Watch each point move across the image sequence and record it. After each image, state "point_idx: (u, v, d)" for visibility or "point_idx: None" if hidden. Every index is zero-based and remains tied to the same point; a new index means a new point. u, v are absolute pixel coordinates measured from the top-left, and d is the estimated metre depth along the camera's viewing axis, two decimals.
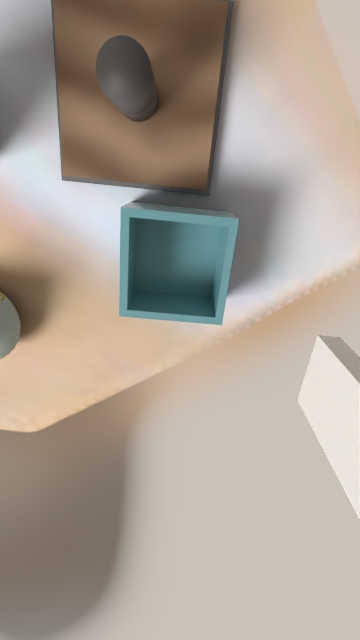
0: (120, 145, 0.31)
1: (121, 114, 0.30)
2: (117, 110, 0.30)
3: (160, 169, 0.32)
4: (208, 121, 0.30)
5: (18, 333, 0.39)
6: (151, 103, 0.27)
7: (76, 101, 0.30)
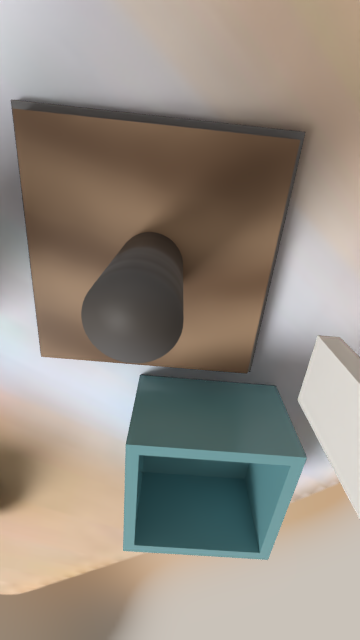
0: None
1: None
2: None
3: (183, 350, 0.22)
4: (256, 294, 0.20)
5: None
6: None
7: (57, 270, 0.20)
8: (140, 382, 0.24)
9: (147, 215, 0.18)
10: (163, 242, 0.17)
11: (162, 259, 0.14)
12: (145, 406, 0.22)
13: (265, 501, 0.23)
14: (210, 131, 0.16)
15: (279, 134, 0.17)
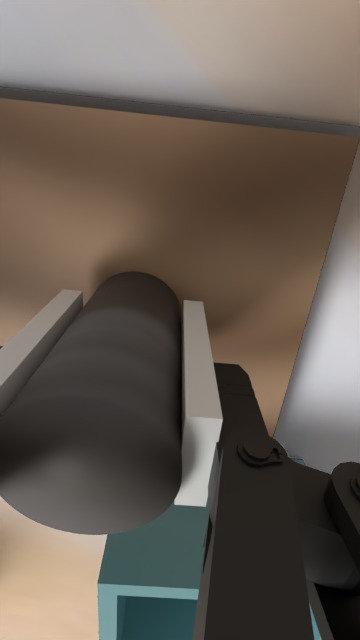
0: None
1: None
2: None
3: None
4: (285, 354, 0.14)
5: None
6: None
7: (3, 322, 0.14)
8: None
9: (129, 248, 0.12)
10: (151, 292, 0.11)
11: (146, 336, 0.08)
12: None
13: None
14: (223, 124, 0.11)
15: (323, 130, 0.12)
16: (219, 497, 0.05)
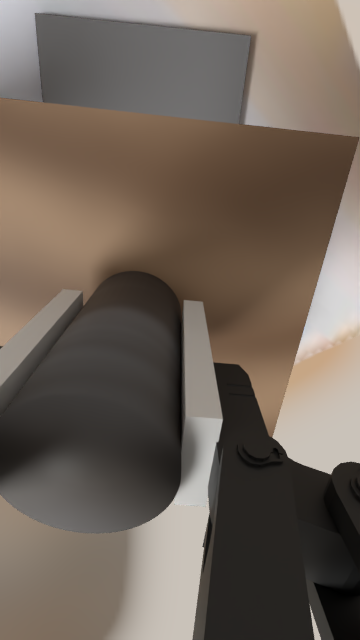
0: None
1: None
2: None
3: None
4: (284, 354, 0.14)
5: None
6: None
7: (3, 322, 0.14)
8: None
9: (128, 247, 0.12)
10: (151, 291, 0.11)
11: (145, 335, 0.08)
12: None
13: None
14: (222, 124, 0.11)
15: (231, 37, 0.23)
16: (219, 497, 0.05)
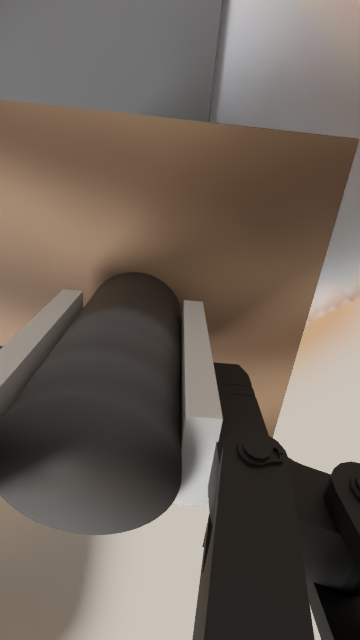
0: None
1: None
2: None
3: None
4: (284, 355, 0.14)
5: None
6: None
7: (4, 323, 0.14)
8: None
9: (129, 248, 0.12)
10: (151, 292, 0.11)
11: (146, 337, 0.08)
12: None
13: None
14: (222, 126, 0.11)
15: None
16: (219, 497, 0.05)
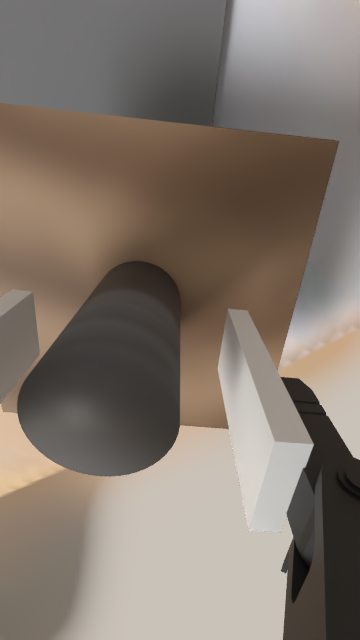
0: None
1: None
2: None
3: (180, 404, 0.18)
4: (275, 338, 0.16)
5: None
6: None
7: None
8: None
9: (133, 239, 0.14)
10: (153, 278, 0.12)
11: (149, 312, 0.10)
12: None
13: None
14: (217, 129, 0.12)
15: None
16: (324, 526, 0.05)
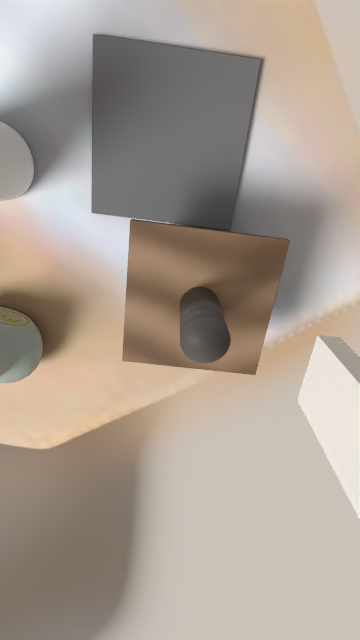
0: (179, 340, 0.33)
1: None
2: (179, 314, 0.32)
3: None
4: (262, 324, 0.33)
5: (40, 355, 0.40)
6: None
7: (141, 307, 0.32)
8: None
9: (199, 277, 0.31)
10: (211, 295, 0.29)
11: (216, 308, 0.26)
12: None
13: None
14: (239, 234, 0.29)
15: (245, 60, 0.30)
16: None
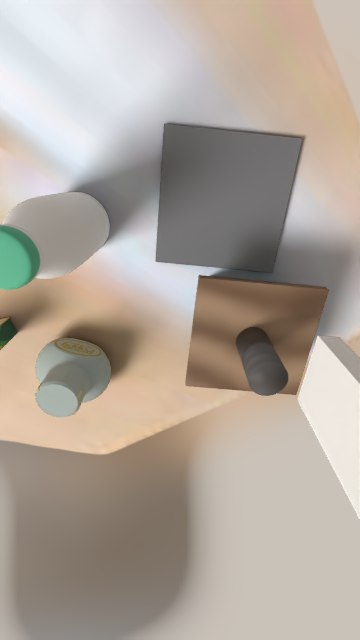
0: (233, 368, 0.40)
1: (237, 351, 0.39)
2: (235, 348, 0.39)
3: None
4: (304, 355, 0.39)
5: None
6: None
7: (204, 343, 0.39)
8: None
9: (253, 319, 0.37)
10: (264, 335, 0.36)
11: (273, 350, 0.33)
12: None
13: None
14: (287, 286, 0.36)
15: (289, 139, 0.36)
16: None
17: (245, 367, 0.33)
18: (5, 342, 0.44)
